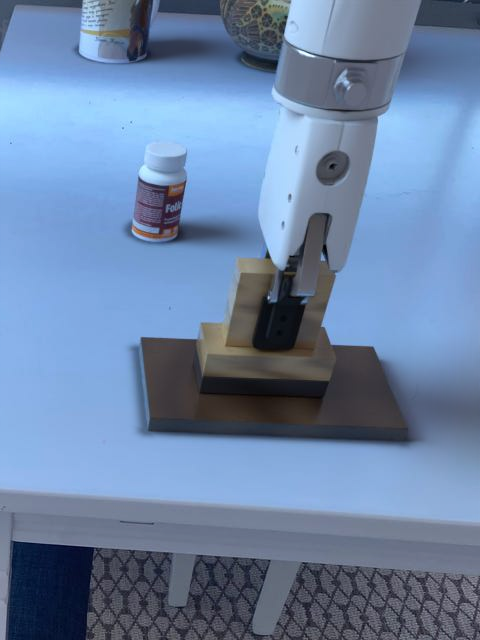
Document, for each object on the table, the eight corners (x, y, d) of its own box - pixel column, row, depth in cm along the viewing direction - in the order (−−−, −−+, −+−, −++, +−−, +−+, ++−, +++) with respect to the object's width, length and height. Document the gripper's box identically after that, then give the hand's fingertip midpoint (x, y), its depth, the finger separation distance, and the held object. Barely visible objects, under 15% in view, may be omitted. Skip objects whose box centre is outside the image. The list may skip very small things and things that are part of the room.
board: (368, 361, 82) (373, 345, 80) (402, 444, 74) (409, 428, 72) (138, 352, 82) (140, 336, 81) (147, 434, 74) (149, 417, 73)
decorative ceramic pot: (213, 55, 145) (206, -61, 134) (333, 25, 141) (336, -96, 131) (236, 114, 128) (230, -12, 118) (372, 82, 125) (379, -51, 114)
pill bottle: (168, 248, 95) (181, 161, 89) (124, 238, 96) (134, 151, 90) (183, 230, 98) (198, 145, 92) (141, 220, 99) (152, 135, 93)
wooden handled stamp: (313, 365, 78) (346, 253, 71) (324, 397, 75) (360, 284, 68) (192, 360, 78) (214, 248, 71) (198, 393, 75) (222, 279, 68)
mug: (73, 42, 139) (79, -49, 131) (152, 41, 140) (163, -49, 132) (84, 65, 132) (92, -29, 124) (168, 64, 133) (181, -29, 125)
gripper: (428, 124, 55) (337, 396, 68) (366, 37, 65) (298, 288, 79) (299, 119, 55) (234, 392, 68) (258, 34, 65) (209, 284, 79)
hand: (269, 334), depth 74 cm, fingers closed on wooden handled stamp, 2 cm apart
